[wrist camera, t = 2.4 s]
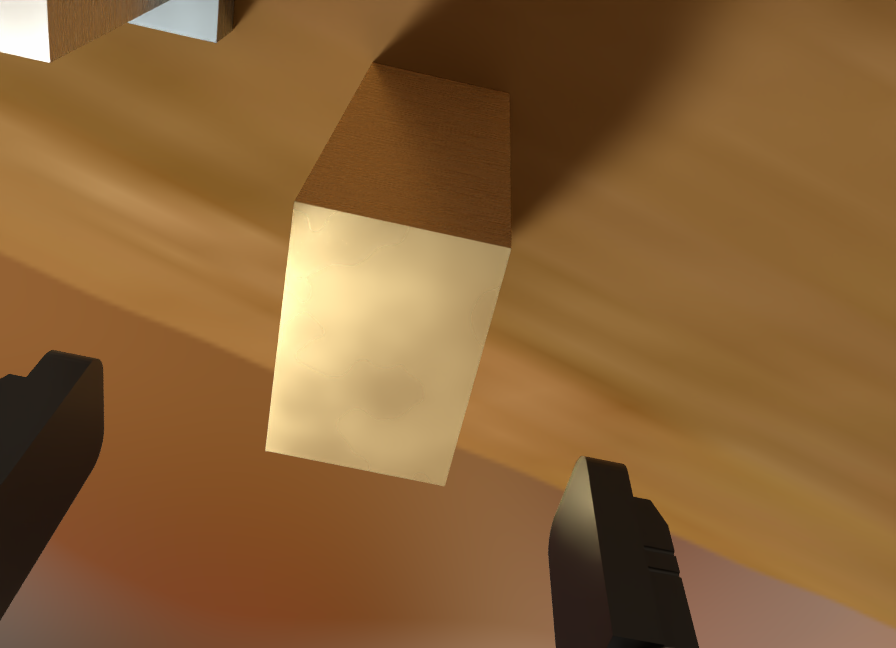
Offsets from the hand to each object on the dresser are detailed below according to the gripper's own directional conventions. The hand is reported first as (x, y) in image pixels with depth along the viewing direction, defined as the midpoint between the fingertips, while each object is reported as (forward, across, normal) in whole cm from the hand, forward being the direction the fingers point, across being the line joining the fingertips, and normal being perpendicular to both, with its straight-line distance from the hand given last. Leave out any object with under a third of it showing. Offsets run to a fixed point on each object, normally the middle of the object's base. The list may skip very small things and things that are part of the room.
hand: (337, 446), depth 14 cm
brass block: (+13, 0, 0) cm, 13 cm away
